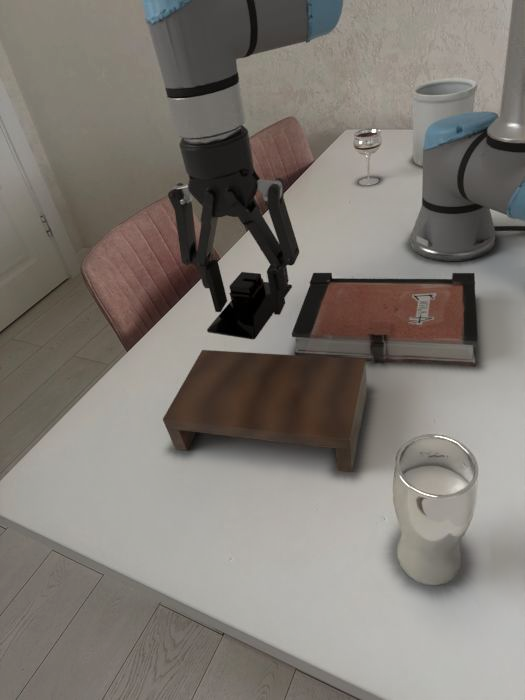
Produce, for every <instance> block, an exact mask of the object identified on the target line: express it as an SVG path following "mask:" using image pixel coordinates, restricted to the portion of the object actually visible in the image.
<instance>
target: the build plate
mask: <svg viewBox="0 0 525 700" xmlns="http://www.w3.org/2000/svg"><path fill="white" fill-rule="evenodd" d="M228 287H229V290H230V291H229V292H230V293H229V297H230V301H229V303H228V304H227V305H225V307H224V308H223V309H222V311H221V312H219V313H220V314H218V316H217V317H216V318H215V319H214V320H213V322H212V323H211V324H210V325H209V326H208V327H207V329H206V332H207V333H210V334H214V335H221V336H226V337H227V336H228V337H234V338H240V339H246V340H256V339H257V338H258V336H259V334H260V333H261V331H262V330H263V329H264V327H265V326H266V325H267V323H268V322H269V320H270V319H271V318H272V317H273V315H274V309H273V304H272V298H271V293H270V287H269V282H267V281H264V278H262V273H257V272H246V271H241V272H240V273H239V274H238V276H236V278H235V279H234V280H233V281H232V283H231V284H230V285H229V286H228ZM292 288H293V285H292V284H289V283H288V284H287V287H286V289H285V290H283V292H284V298H286V297H287V295H288V294H289V292H290V291H291V290H292Z"/></svg>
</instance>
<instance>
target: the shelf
mask: <svg viewBox="0 0 525 700" xmlns="http://www.w3.org/2000/svg"><path fill="white" fill-rule="evenodd" d="M366 362H367V360H365V359H349V358H332V357H315V356H298V355H295V354H279V353H278V354H277V353H263V352H262V353H261V352H247V351H246V352H245V351H227V350H211V349H202V350H201V351H200V353H199V355H198V356H197V358H196V359H195V362H194V363H193V365H192V367H191V369H190V371H189V372H188V374H187V375H186V377H185V379H184V381H183V383H182V385H181V386H180V387H179V389H178V392H177V393H176V394H175V397H174V398H173V400H172V402H171V404H170V405H169V407H168V409H167V411H166V413H165V414H164V416H163V418H162V422H163V424H164V427H165V428H166V431H167V434H168V436H169V437H170V440H171V442H172V444H173V447H174V449H175V450H179V451H188V450H189V448H190V446H191V443H192V441H193V439H194V437H195V435H196V433H202V434H210V435H211V434H212V435H217V436H218V435H219V436H226V437H227V436H229V437H235V438H237V437H238V438H244V439H245V438H246V439H252V440H253V439H254V440H262V441H270V442H279V443H288V444H294V445H295V444H296V445H304V446H305V445H306V446H313V447H323V448H330V449H335V458H336V467H337V471H340V472H346V473H347V472H348V473H353V471H354V465H355V461H356V454H357V449H358V443H359V437H360V432H361V427H362V422H363V415H364V410H365V405H366V399H367V393H368V385H367V382H368V381H367V363H366Z"/></svg>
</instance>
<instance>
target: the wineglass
mask: <svg viewBox="0 0 525 700" xmlns="http://www.w3.org/2000/svg"><path fill="white" fill-rule="evenodd" d="M381 134H382V129H380V128H375V127H371V128H363V129H359V130H357V131H355V132H354V133H353V137H354V139H353V147H354V150H355V151H356V152H357V153H358V154H360V155H363V156H364V157H365V158H366V172H367V177H365V178H363V179H360V180H359V181H358V183H359V185H361V186H373V185H375V184H377V183H379V181H380V180H379V179H378V178H377V177H370V166H371V165H370V163H371V162H370V161H371V159H370V157H372V155H373V154H375V153H377V151H378V150H379V149H380V148H381V145H382V141H383V139H382V135H381Z"/></svg>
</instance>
